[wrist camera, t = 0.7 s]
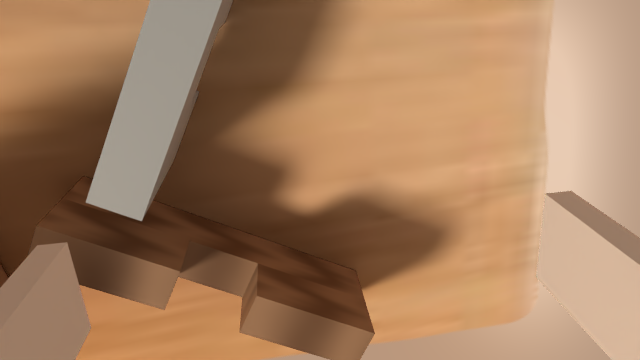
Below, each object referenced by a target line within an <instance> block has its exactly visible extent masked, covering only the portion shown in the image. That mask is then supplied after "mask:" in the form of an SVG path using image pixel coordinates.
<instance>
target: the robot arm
mask: <svg viewBox="0 0 640 360" xmlns="http://www.w3.org/2000/svg"><path fill="white" fill-rule="evenodd" d="M536 278H537V279H538V280H539V281H540V282H541V283H542V284H543V286H544V287H545V288H546V289H547V290H548V291H549V292H550V293H551V294H552V295H553V296H554V298H555V299H556V300H557V301H558V302H559V303H560V304H561V305H562V306H563V307H564V308H565V310H566V311H567V312H568V313H569V314H570V315H571V316H572V317H573V318H574V319H575V320H576V322H577V323H578V324H579V325H580V326H581V327H582V328H583V329H584V330H585V331H586V332H587V334H588V335H589V336H590V337H591V338H592V339H593V340H594V341H595V342H596V343H597V344H598V345H599V347H600V348H601V349H602V350H603V351H604V352H605V353H606V354H607V355H608V356H609V357H610V359H611V360H640V238H639V237H638V236H636V235H635V234H633V233H632V232H630V231H629V230H627V229H626V228H624V227H623V226H622V225H620V224H619V223H617V222H616V221H614V220H613V219H611V218H610V217H608V216H607V215H605V214H604V213H603V212H601V211H600V210H598V209H597V208H595V207H594V206H592V205H591V204H589V203H588V202H586V201H585V200H584V199H582V198H581V197H579V196H578V195H576V194H575V193H573V192H572V191H567V192H558V193H547V194H545V200H544V209H543V218H542V227H541V236H540V245H539V254H538V263H537V272H536ZM90 329H91V325H90V322H89V318H88V315H87V311H86V308H85V304H84V301H83V297H82V293H81V290H80V286H79V283H78V279H77V276H76V272H75V269H74V265H73V262H72V258H71V254H70V251H69V247H68V244H67V242H65V243H55V244H46V245H37V246H36V247H35V248H34V250H33V251H32V252H31V253H30V254H29V255H28V256H27V258H26V259H25V260H24V261H23V262H22V263H21V265H20V266H19V267H18V268H17V269H16V270H15V271H14V273H13V274H12V275H11V276H10V277H9V278H8V280H7V281H6V282H5V283H4V284H3V285H2V286H1V288H0V360H75V359H76V357H77V355H78V353H79V351H80V349H81V347H82V345H83V343H84V341H85V339H86V337H87V335H88V333H89V331H90Z"/></svg>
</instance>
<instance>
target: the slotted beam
mask: <svg viewBox="0 0 640 360" xmlns="http://www.w3.org/2000/svg"><path fill="white" fill-rule="evenodd" d="M92 181H93V179H90V178H88V177H85V176H83V177H82V178H81V179H80V180H79V181H78V182H77V183H76V185H75V186H74V187H73V188H72V189H71V190H70V191H69V192H68V193H67V194H66V195H65V196H64V197H63V198H62V199H61V200H60V201H59V202H58V203H57V204H56V205H55V207H54V208H53V209H52V210H51V211H50V212H49V213H48V214H47V215H46V216H45V217H44V218H43V219H42V220H41V221H40V222H39V223H38V224H37V225H36V228H35V232H34V235H33V239H32V242H31V246H30V249H29V252H28V255H29V254H30V253H31V252H32V251H33V250H34V248H35V247H36V246H37V245H46V244H55V243H65V242H67V244H68V247H69V251H70V254H71V258H72V262H73V265H74V269H75V272H76V276H77V279H78V283H79V285H82V286H86V287H89V288H92V289H96V290H99V291H103V292H106V293H109V294H113V295H116V296H119V297H123V298H126V299H129V300H133V301H136V302H139V303H143V304H146V305H149V306H153V307H156V308H159V309H163V310H165V308H166V305H167V303H168V300H169V298H170V296H171V293H172V291H173V288H174V286H175V283H176V281H177V278H178V277H180V278H184V279H187V280H190V281H193V282H196V283H199V284H203V285H206V286H209V287H212V288H215V289H218V290H222V291H225V292H228V293H231V294H234V295H237V296H241V297H242V309H241V321H240V333H243V334H246V335H250V336H253V337H256V338H260V339H263V340H267V341H270V342H273V343H277V344H280V345H283V346H287V347H290V348H293V349H297V350H300V351H303V352H307V353H310V354H313V355H317V356H321V357H324V358H327V359H330V360H360V359H361V356H362V355H363V353H364V352H365V350H366V348H367V346H368V345H369V343H370V341H371V339H372V338H373V336H374V334H375V333H374V329H373V326H372V323H371V319H370V316H369V313H368V310H367V306H366V303H365V300H364V296H363V293H362V290H361V287H360V283H359V280H358V277H357V273H356V271H355V270H352V269H349V268H346V267H343V266H340V265H338V264H335V263H332V262H329V261H326V260H323V259H320V258H317V257H315V256H312V255H309V254H306V253H303V252H300V251H297V250H294V249H292V248H289V247H286V246H283V245H280V244H277V243H274V242H271V241H269V240H266V239H263V238H260V237H257V236H254V235H251V234H248V233H246V232H243V231H240V230H237V229H234V228H231V227H228V226H226V225H223V224H220V223H217V222H214V221H211V220H208V219H205V218H203V217H200V216H197V215H194V214H191V213H188V212H185V211H182V210H180V209H177V208H174V207H171V206H168V205H165V204H162V203H159V202H157V201H154V200H153V201H152V203H151V205H150V207H149V209H148V210H147V212H146V214H145V216H144V218H143V220H142V221H139V220H136V219H133V218H130V217H127V216H124V215H121V214H118V213H115V212H112V211H109V210H106V209H103V208H100V207H97V206H94V205H91V204H89V203H86V200H87V196H88V193H89V190H90V187H91V184H92Z"/></svg>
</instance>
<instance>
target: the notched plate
mask: <svg viewBox="0 0 640 360" xmlns="http://www.w3.org/2000/svg"><path fill="white" fill-rule="evenodd" d="M232 2H233V0H150V3H149V6H148V9H147V12H146V15H145V19H144V22H143V25H142V28H141V31H140V34H139V37H138V40H137V44H136V47H135V50H134V53H133V56H132V59H131V62H130V65H129V68H128V72H127V75H126V78H125V81H124V84H123V87H122V90H121V93H120V97H119V100H118V103H117V106H116V109H115V112H114V115H113V118H112V122H111V125H110V128H109V131H108V134H107V137H106V140H105V143H104V146H103V150H102V153H101V156H100V159H99V162H98V165H97V168H96V171H95V175H94V178H93V181H92V184H91V187H90V190H89V193H88V196H87V200H86V203H89V204H91V205H94V206H97V207H100V208H103V209H106V210H109V211H112V212H115V213H118V214H121V215H124V216H127V217H130V218H133V219H136V220H139V221H142V220H143V218H144V216H145V214H146V212H147V210H148V209H149V207H150V205H151V203H152V201H153V199H154V197H155V195H156V194H157V192H158V190H159V188H160V186H161V184H162V182H163V180H164V178H165V177H166V175H167V173H168V171H169V169H170V167H171V165H172V163H173V161H174V159H175V156H176V153H177V151H178V148H179V145H180V143H181V140H182V137H183V135H184V132H185V129H186V126H187V124H188V121H189V118H190V116H191V113H192V110H193V108H194V105H195V102H196V100H197V97H198V94H199V91H197V87H198V84H199V82H200V79H201V76H202V74H203V71H204V68H205V65H206V63H207V60H208V57H209V54H210V52H211V49H212V46H213V44H214V41H215V38H216V35H217V33H218V30H219V28H220V27H221V26H222V25H223V24H224V23H225V21H226V19H227V16H228V13H229V10H230V8H231V5H232Z"/></svg>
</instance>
